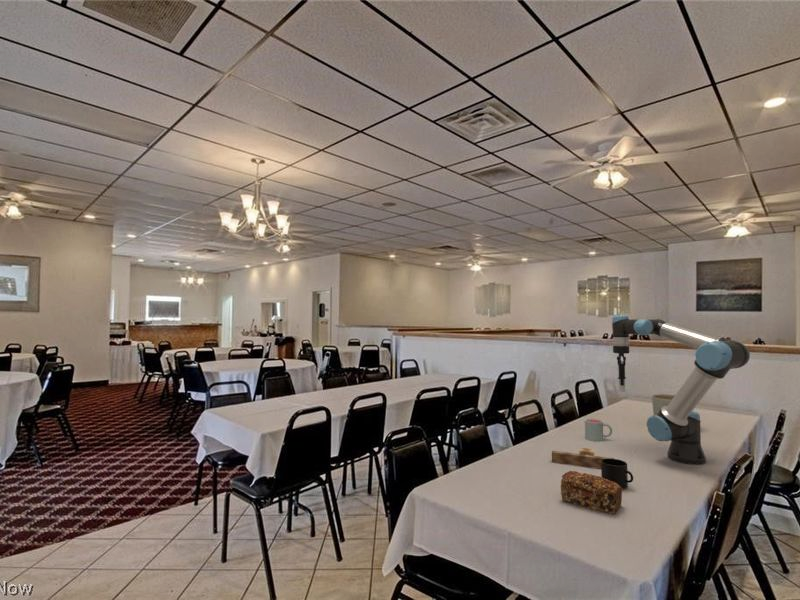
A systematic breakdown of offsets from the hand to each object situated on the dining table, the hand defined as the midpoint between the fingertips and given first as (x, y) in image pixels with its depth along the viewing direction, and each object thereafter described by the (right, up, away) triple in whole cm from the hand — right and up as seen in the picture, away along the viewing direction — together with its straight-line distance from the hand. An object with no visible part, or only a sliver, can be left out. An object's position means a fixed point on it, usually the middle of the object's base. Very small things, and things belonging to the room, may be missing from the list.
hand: (622, 391), depth 222 cm
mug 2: (-27, -27, -50) cm, 63 cm away
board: (-31, -28, -25) cm, 49 cm away
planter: (+51, -31, +39) cm, 71 cm away
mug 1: (-5, -30, +16) cm, 35 cm away
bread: (-45, -27, -66) cm, 84 cm away
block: (-28, -28, -22) cm, 45 cm away
